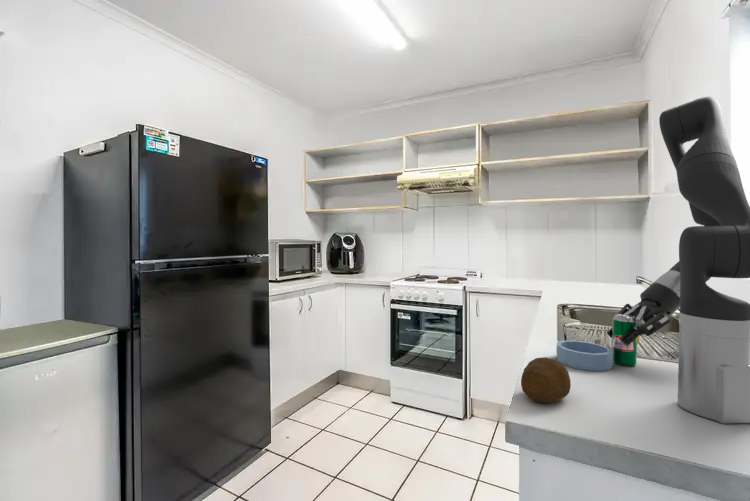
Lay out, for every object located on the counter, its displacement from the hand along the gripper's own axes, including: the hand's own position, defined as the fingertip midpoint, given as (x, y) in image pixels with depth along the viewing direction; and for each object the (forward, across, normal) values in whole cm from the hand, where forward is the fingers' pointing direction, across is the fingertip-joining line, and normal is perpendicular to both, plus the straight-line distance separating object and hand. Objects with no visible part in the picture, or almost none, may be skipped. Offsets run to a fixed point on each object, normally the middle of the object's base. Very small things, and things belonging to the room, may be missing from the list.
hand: (616, 338), depth 88 cm
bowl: (+10, +1, -1) cm, 10 cm away
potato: (+23, +23, -14) cm, 35 cm away
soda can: (+3, 0, +6) cm, 7 cm away
